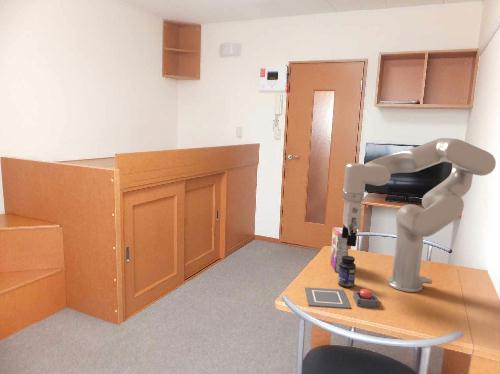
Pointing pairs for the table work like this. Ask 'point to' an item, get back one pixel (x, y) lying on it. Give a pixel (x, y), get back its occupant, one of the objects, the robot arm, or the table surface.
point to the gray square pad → (327, 298)
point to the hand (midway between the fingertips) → (348, 241)
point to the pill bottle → (347, 272)
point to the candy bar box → (338, 248)
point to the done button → (366, 294)
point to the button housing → (365, 300)
